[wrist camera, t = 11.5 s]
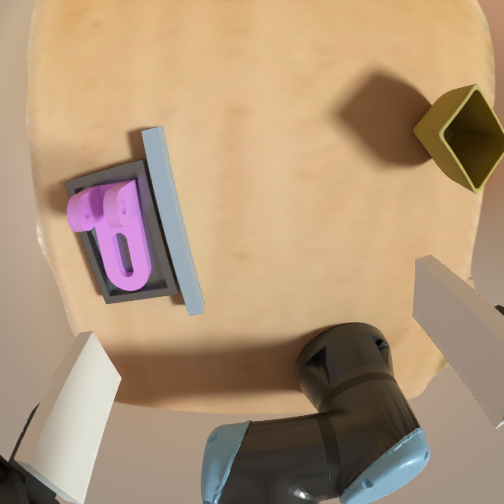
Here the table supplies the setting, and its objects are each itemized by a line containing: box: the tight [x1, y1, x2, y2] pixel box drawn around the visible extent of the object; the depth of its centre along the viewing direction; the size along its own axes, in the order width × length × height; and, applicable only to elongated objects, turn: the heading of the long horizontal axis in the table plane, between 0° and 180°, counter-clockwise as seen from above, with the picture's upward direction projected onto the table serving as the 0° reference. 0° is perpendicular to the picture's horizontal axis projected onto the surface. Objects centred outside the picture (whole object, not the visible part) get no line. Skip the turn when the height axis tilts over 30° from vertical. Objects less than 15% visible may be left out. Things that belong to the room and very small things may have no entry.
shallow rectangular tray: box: [65, 158, 180, 304], centre depth 33 cm, size 16×10×2 cm, turn 9°
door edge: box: [141, 127, 204, 316], centre depth 33 cm, size 22×2×2 cm, turn 9°
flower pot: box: [413, 84, 504, 194], centre depth 27 cm, size 9×9×9 cm
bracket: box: [67, 179, 151, 291], centre depth 31 cm, size 13×6×7 cm, turn 3°
